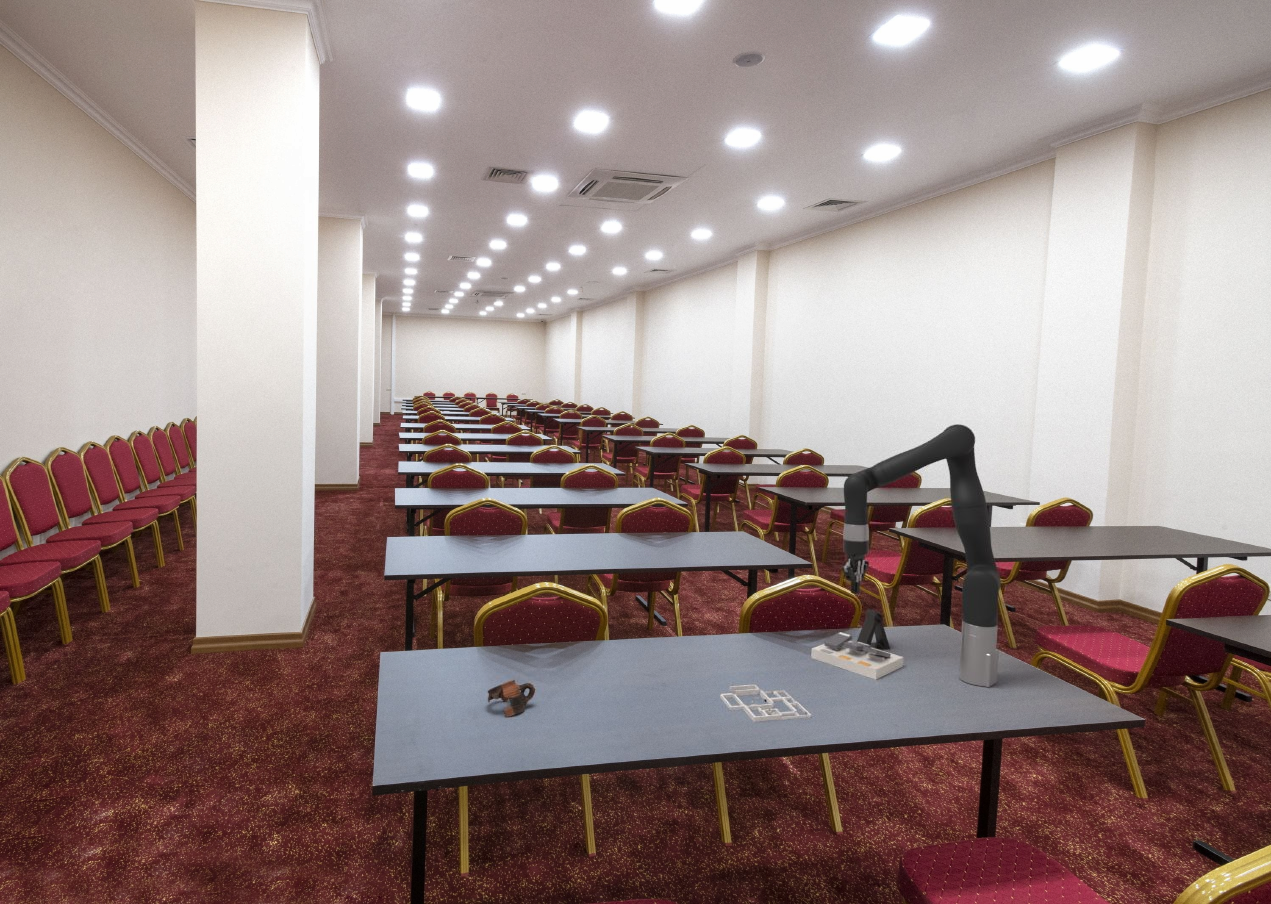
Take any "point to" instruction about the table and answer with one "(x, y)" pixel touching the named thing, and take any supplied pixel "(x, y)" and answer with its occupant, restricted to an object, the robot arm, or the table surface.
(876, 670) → the switch unit
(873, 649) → the rocker
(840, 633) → the block
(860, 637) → the phone stand
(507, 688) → the pottery mug
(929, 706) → the table surface
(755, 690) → the floor plan model
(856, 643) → the block
